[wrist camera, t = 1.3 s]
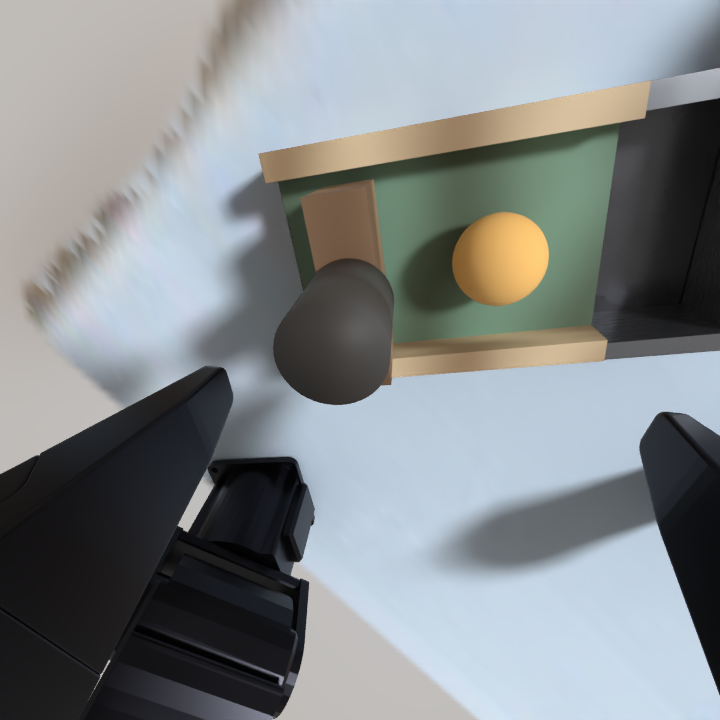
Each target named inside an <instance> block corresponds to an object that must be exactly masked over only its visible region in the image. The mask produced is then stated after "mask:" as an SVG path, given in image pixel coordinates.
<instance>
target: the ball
mask: <svg viewBox="0 0 720 720" xmlns="http://www.w3.org/2000/svg"><path fill="white" fill-rule="evenodd" d="M548 260H549V249H548V244H547V241H546V238H545V236H544V234H543V232H542V231H541V229H540V228H539V227H538V226H537V225H536V224H535V223H534V222H533V221H531V220H530V219H529V218H527V217H525V216H522V215H520V214H516V213H511V212H498V213H493V214H490V215H487V216H484V217H482V218H480V219H478V220H477V221H475V222H474V223H472V224H471V225H470V226H469V227H468V228H467V229H466V230H465V231H464V232H463V234H462V235H461V236H460V238H459V240H458V242H457V244H456V246H455V249H454V252H453V258H452V267H453V273H454V277H455V280H456V282H457V284H458V286H459V287H460V289H461V290H462V291H463V292H464V293H465V294H466V295H467V296H468V297H470V298H471V299H473V300H474V301H476V302H478V303H481V304H485V305H490V306H503V305H508V304H512V303H515V302H517V301H519V300H521V299H523V298H525V297H526V296H527V295H529V294H530V293H531V292H532V291H533V290H534V289H535V288H536V287H537V286H538V285H539V283H540V282H541V280H542V279H543V277H544V275H545V272H546V270H547V266H548Z"/></svg>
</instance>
